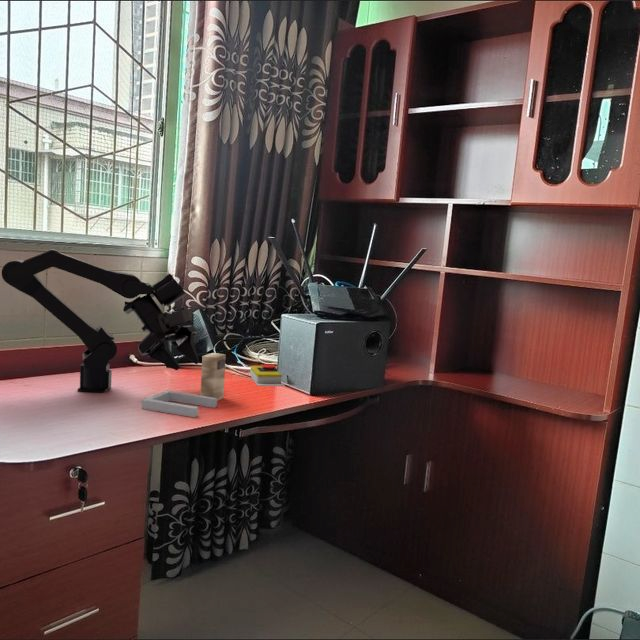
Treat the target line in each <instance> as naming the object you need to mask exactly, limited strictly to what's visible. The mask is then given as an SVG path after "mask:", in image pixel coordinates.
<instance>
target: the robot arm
mask: <svg viewBox="0 0 640 640" xmlns="http://www.w3.org/2000/svg"><path fill="white" fill-rule="evenodd" d="M51 268H55V269H59V270H62V271H64V272H66V273H69V274H73V275H75V276H78V277H81V278H84V279H86V280H90V281H92V282H95V283H98V284H101V286H102V285H103V286H104V287H105V288H106V289H109V290H110V291H113V292H114V293H116V294H118V295H120V296H121V297H123V298H125V299H128V300H129V299H130V300H131V299H132V300H131V301H124V306H123V312H124V314H126V315H129V314H131V313H132V312H133V313H134V314H135V316H136V317H137V318H138V320H139V322H140V323H141V324H142V325H143V326H142V327H141V330H142V331H143V332H148V334H147V335H146V336H145V337H144V338H143V339H142V340H141V341H139V343H138V344H137V350H138V351H139V353H140V355H142V356H146V357H147V358H151V359H154V360H155V361H157V362H160V363H161V364H164V365H166V366H168V367H169V368H171V369H173V370H175V371H179V370H180V368H181V367H180V364H179V362H178V361H177V359H176V357H175V355H174V354H173V353H172V351H171V350H170V343H171V344H172V345H173V346H174V347H175V349H176V350H177V351H178V352H179V353H181V354H182V355H183V356H184V357H185V358H186V359H188V360H189V361H190V362H192V363H194V364H196V365H198V364H199V363H200V359H199V355H198V353H197V350H196V348H195V343H194V341H195V338H196V336H197V333H198V330H197V329H196V327H195V326H194V325H189V324H188V325H184V324H185V323H190V322H192V321H193V320H192V318H193V313H194V312H193V311H191V310H190V309H189V308H188V307H187V306H184V307H182V308H178V310H176V311H174V312H172V313H169V312H167V311H166V312H163V311H162V308H160V306H162V307H163V306H166V307H167V308H168V307H170V306H171V305H173V304H174V303H176V302H177V301H179V300H180V299H181V298H183V297H184V296H186V295H187V294H186V292H185V290H184V289H183V287H182V286H181V285H180V283H178V282H177V280H176V279H175V277H173V275H172V273H167V274H165V275H164V276H163V277H162V278H161V279H160V280H158V281H156V282H155V283H153V284H150V283H149V282H143V281H141V280H140V279H139V277H137V276H136V275H134V274H132V273H128V272H122V271H116V270H113V269H112V270H110V269H106V268H103V267H100V266H97V265H95V264H93V263H89V262H87V261H84V260H82V259H78V258H76V257H73V256H71V255H68V254H65V253H62V252H60V251H59V250H57V249H53V248H52V249H48V250H46V251H45V252H43V253H40V254H38V255H35V256H33V257H29V258H27V259H24V260H22V259H13V260H9V261H8V262H6V263H5V264H4V265H3V266H2V269H1V277H2V279H3V281H4V282H5V283H6V284H7V285H9V286H10V287H12V288H14V289H16V290H17V291H19V292H21V293H23V294H25V295H27V296H28V297H31V298H33V299H34V300H35V301H36V302H37V303H38V304H40V305H41V306H42V307H43V308H45V310H46V311H48V312H49V313H51V315H52V316H54V317H55V318H56V319H57V320H59V322H61V324H63V325H65V326H66V327H67V328H68V329H69V330H70V331H72V332H73V333H74V334H75V335H76V336H78V338H79V339H80V340H81V341H82V343H83V344H84V346H85V347H86V348H87V349H86V350H84V351H83V352H82V354H81V355H82V362H83V363H82V364H80V367H79V369H80V370H79V387H78V388H77V392H87V393H88V392H90V393H105V392H107V391H108V390H109V389H110V388H111V387H112V376H113V375H112V370H111V369H110V363H109V361H110V360H111V361H112V360H113V358H114V357H115V356H116V355H117V351H118V347H117V343H116V342H115V337H114V335H113V333H111V332H109V331H107V330H106V328H105V327H104V326H103V325H102V324H101V323H99V325H98V326H97V327H95V326H93V325H92V324H90V323H88V321H86V320H85V319H84V318H83V317H82V316H80V315H79V314H78V313H77V312H76V311H75V310H73V308H71V307H70V306H69V305H67V303H66V302H64V301H63V300H62V299H61V298H59V297H58V296H57V295H56V294H55V293H54V292H53V291H52V290H50V289H49V288H48V287H47V286H46V285H45V284H44V282H42V279H40V277H39V276H38V275H37V274H39V273H41V272H43V271H46V270H48V269H51ZM139 295H143V296H139ZM154 298H155V299H154ZM155 300H156V301H157V302H158V304H159V305H160V306H159V305H158V304H157V302H156V301H155ZM182 324H183V326H181V325H182Z"/></svg>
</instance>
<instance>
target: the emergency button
mask: <svg viewBox="0 0 640 640" xmlns="http://www.w3.org/2000/svg"><path fill="white" fill-rule="evenodd" d="M277 366H278V365H275V364H271V363H270V364H267V363H266V364H265V363H264V364H262V365H251V366H250V369H249V374H250V375H251V377H250V378H251V379H252V380H253V382H254V383H255V384H256V385H257V386H259V387H286V386H285V385H284V384H281V377H282V375H281V374H279V373H278V372H277ZM250 375H249V376H250Z"/></svg>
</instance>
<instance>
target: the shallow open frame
mask: <svg viewBox="0 0 640 640" xmlns="http://www.w3.org/2000/svg"><path fill="white" fill-rule="evenodd" d="M199 406H201V407H207V408H214V409H215V408H216V407H218V401H217V398H214V397H207V396H201V394H200V395H199V394H193V393H187V392H181V391H175V390H164V391H162V392H158V393H156V394H153V395H151V396H148V397H146V398H143V399H142V400H141V409H144V410H149V411H154V412H155V411H156V412H161V413H166V414H172V415H179V416H184V417H190V418H196V417H198V416H199Z"/></svg>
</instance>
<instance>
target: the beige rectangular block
mask: <svg viewBox="0 0 640 640" xmlns="http://www.w3.org/2000/svg"><path fill="white" fill-rule="evenodd" d="M226 355H227V354H224V353H218V352H217V353H216V352H211V353H208V354H205V355H202V356H201V358H202V359H201V381H200V395H201V396H207V397H214V398H217V402H218V401H220V400H222V399H224V398H225V397H224V396H225V395H224V394H225V379H226V378H225V377H226V376H225V375H226Z"/></svg>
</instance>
